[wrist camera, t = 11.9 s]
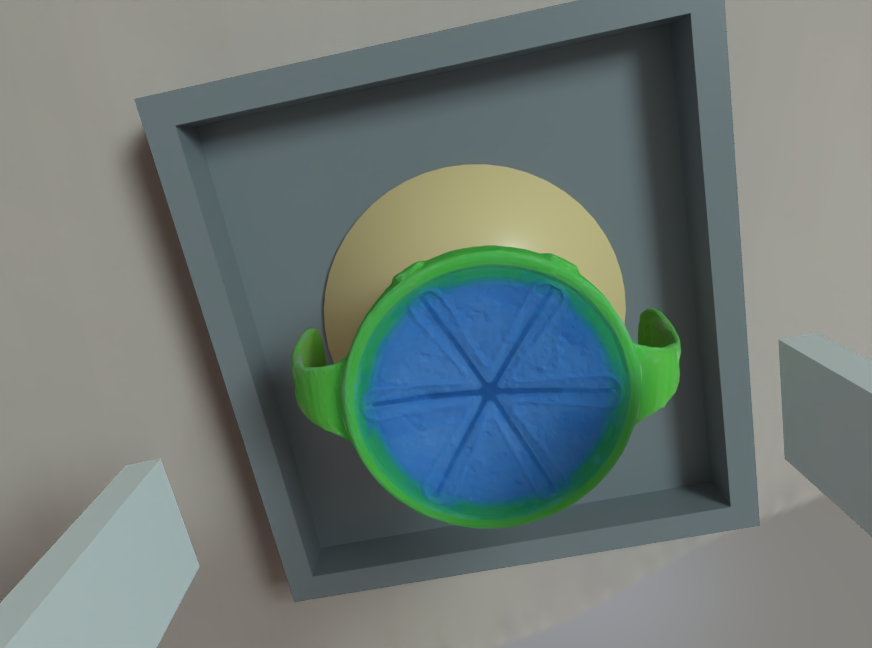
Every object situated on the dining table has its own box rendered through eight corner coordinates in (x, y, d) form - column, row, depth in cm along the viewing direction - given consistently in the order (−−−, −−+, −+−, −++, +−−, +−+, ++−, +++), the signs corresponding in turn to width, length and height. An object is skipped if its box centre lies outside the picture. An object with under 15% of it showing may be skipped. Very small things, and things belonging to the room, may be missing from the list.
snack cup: (646, 221, 22) (742, 263, 15) (618, 423, 24) (690, 542, 17) (319, 206, 22) (261, 239, 15) (321, 409, 24) (270, 522, 17)
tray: (307, 559, 27) (294, 601, 25) (168, 102, 22) (134, 98, 20) (729, 488, 26) (759, 525, 24) (689, -12, 21) (721, -32, 19)
